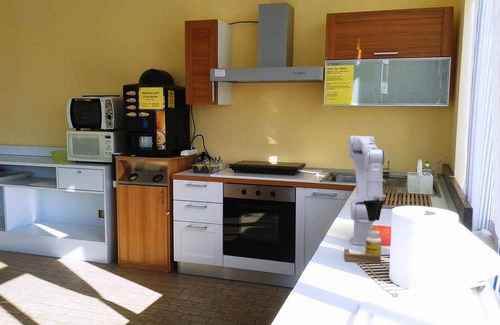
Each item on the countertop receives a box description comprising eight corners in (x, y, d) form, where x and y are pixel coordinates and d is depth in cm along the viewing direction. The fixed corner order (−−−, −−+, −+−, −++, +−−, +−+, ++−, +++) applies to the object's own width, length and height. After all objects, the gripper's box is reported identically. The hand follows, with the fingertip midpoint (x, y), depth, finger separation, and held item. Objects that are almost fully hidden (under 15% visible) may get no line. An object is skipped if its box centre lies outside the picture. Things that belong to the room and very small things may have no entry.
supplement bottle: (362, 258, 173) (363, 231, 172) (368, 255, 177) (370, 228, 176) (376, 261, 169) (378, 234, 168) (383, 258, 174) (384, 231, 172)
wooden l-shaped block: (344, 255, 176) (344, 248, 176) (378, 257, 174) (378, 250, 174) (345, 261, 169) (345, 254, 169) (380, 263, 167) (380, 256, 167)
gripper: (382, 182, 166) (382, 222, 165) (388, 183, 179) (388, 220, 178) (361, 181, 169) (361, 221, 168) (369, 183, 182) (369, 219, 181)
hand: (374, 220), depth 173 cm, fingers open, 7 cm apart
